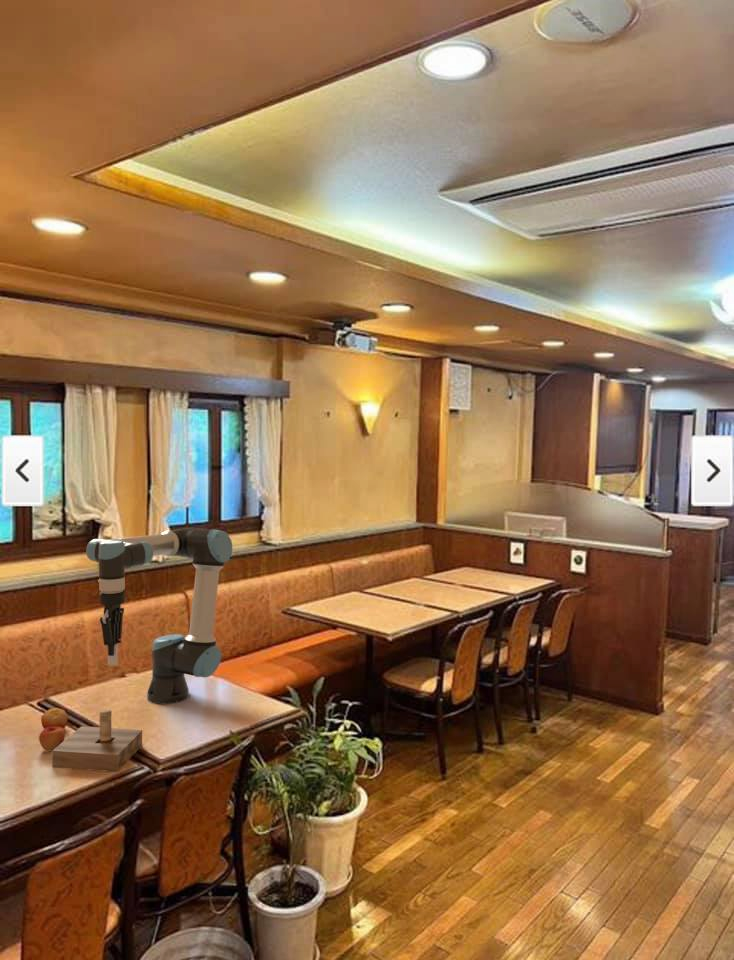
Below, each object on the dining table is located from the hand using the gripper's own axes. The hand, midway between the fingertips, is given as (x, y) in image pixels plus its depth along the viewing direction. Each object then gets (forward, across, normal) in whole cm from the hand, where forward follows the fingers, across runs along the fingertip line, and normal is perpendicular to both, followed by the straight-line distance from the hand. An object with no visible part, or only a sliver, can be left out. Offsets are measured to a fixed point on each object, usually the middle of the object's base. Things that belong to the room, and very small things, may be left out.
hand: (112, 664), depth 221 cm
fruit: (+27, -9, -24) cm, 37 cm away
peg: (+26, +8, +1) cm, 27 cm away
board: (+26, +8, -2) cm, 27 cm away
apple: (+26, +5, -17) cm, 32 cm away
